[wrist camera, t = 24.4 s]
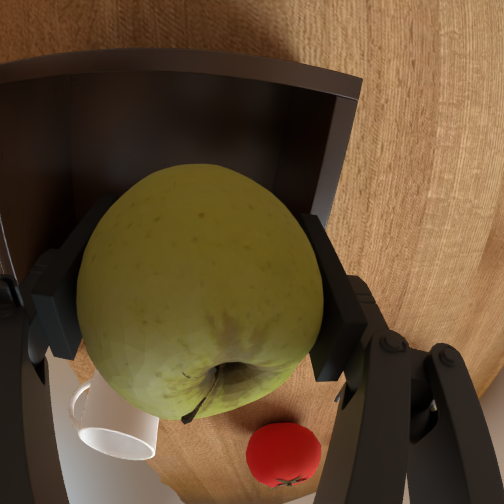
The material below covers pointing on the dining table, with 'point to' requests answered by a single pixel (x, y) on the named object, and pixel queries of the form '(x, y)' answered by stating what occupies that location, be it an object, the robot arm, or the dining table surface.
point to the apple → (198, 293)
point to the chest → (160, 132)
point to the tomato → (283, 454)
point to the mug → (113, 422)
